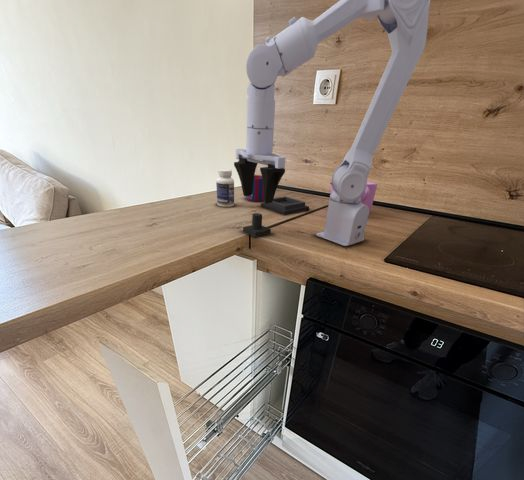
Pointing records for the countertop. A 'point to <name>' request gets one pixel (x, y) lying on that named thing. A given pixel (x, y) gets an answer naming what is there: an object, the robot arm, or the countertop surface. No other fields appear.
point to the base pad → (285, 205)
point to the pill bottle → (225, 188)
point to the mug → (257, 190)
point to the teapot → (366, 194)
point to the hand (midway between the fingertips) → (257, 199)
